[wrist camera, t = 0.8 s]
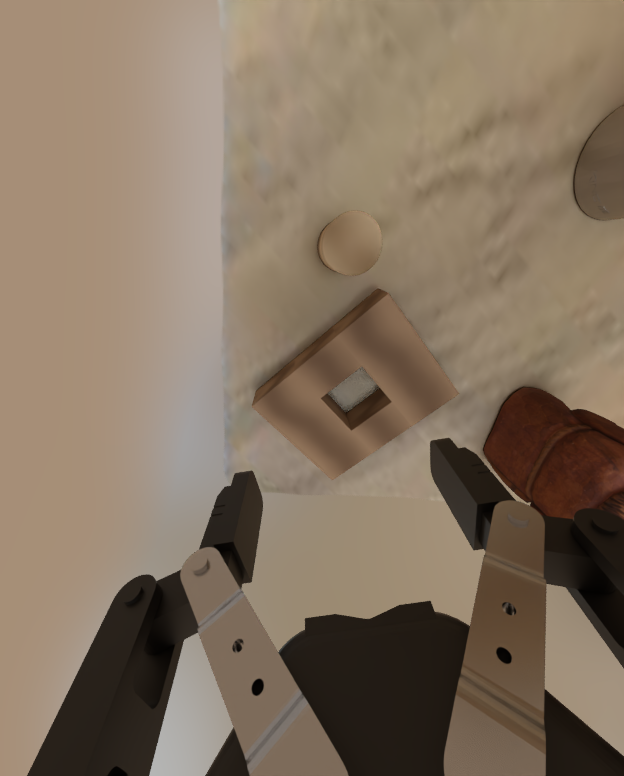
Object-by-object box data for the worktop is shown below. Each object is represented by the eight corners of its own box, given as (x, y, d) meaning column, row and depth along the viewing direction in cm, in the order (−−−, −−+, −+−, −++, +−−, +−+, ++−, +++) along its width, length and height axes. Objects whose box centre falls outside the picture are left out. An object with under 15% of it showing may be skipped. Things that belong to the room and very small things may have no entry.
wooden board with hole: (377, 288, 31) (388, 293, 27) (442, 379, 36) (459, 393, 32) (256, 390, 35) (251, 406, 31) (329, 459, 40) (332, 480, 36)
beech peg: (338, 213, 28) (359, 194, 19) (363, 250, 29) (394, 248, 20) (306, 244, 29) (311, 240, 20) (332, 278, 30) (347, 288, 21)
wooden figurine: (515, 460, 42) (656, 592, 25) (473, 456, 41) (591, 590, 25) (555, 385, 37) (761, 490, 21) (509, 379, 36) (683, 483, 20)
